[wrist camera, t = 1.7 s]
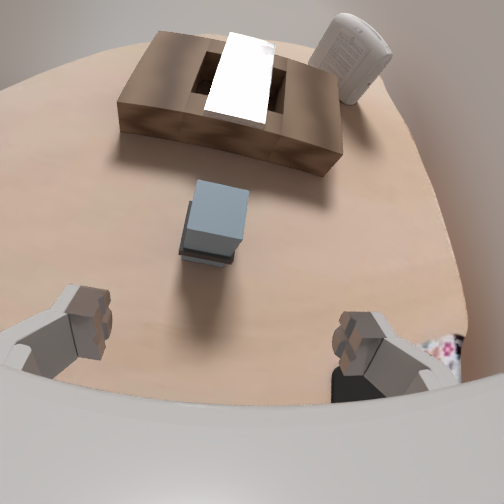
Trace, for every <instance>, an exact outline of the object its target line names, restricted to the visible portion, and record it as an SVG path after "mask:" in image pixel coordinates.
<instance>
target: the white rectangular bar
mask: <svg viewBox="0 0 504 504" xmlns="http://www.w3.org/2000/svg"><path fill="white" fill-rule="evenodd" d="M275 45H276V44H275V43H271V42H268V41H264V40H261V39H257V38H253V37H248V36H245V35H241V34H237V33H232V32H230V35H229V37H228V40H227V42H226V45H225V48H224V51H223V54H222V57H221V60H220V63H219V65H218V68H217V71H216V74H215V78H214V81H213V84H212V87H211V90H210V93H209V96H208V100H207V103H206V106H205V109H204V114H203V116H206V117H211V118H215V119H220V120H224V121H228V122H233V123H237V124H241V125H245V126H249V127H253V128H257V129H261V130H263V128H264V126H265V123H266V115H267V107H268V99H269V92H270V84H271V76H272V68H273V61H274V53H275Z"/></svg>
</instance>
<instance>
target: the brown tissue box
mask: <svg viewBox="0 0 504 504" xmlns="http://www.w3.org/2000/svg"><path fill="white" fill-rule="evenodd" d="M225 45H226V42H224V41H219V40H214V39H209V38H204V37H198V36H192V35H186V34H180V33H173V32H165V31H158V33H157V34H156V36H155V38H154V39H153V41H152V42H151V44H150V45H149V47H148V48H147V50H146V51H145V53H144V55H143V56H142V58H141V60H140V61H139V63H138V65H137V66H136V68H135V70H134V71H133V73H132V75H131V77H130V78H129V80H128V82H127V84H126V85H125V87H124V89H123V91H122V93H121V95H120V97H119V98H118V100H117V108H118V117H119V125H120V132H127V133H133V134H140V135H146V136H152V137H157V138H163V139H168V140H174V141H179V142H184V143H189V144H194V145H199V146H204V147H209V148H213V149H218V150H222V151H227V152H231V153H235V154H240V155H244V156H248V157H252V158H256V159H260V160H264V161H268V162H272V163H275V164H279V165H283V166H287V167H290V168H294V169H298V170H301V171H305V172H308V173H312V174H315V175H318V176H322V177H323V176H324V175H325V174H326V173H327V172H328V171H329V170H330V169H331V168H332V166H333V165H334V164H335V163H336V162H337V161H338V160H339V159H340V158H341V157H342V155H343V142H342V127H341V114H340V103H339V92H338V83H337V76H336V75H334V74H331V73H328V72H326V71H323V70H320V69H318V68H315V67H312V66H309V65H306V64H303V63H300V62H297V61H294V60H291V59H288V58H285V57H282V56H278V55H275V54H274V61H273V68H272V76H271V84H270V92H269V96H272V97H274V102H273V111H269V110H267V115H266V123H265V126H264V128H263V130H261V129H257V128H253V127H249V126H245V125H241V124H237V123H233V122H228V121H224V120H220V119H215V118H211V117H206V116H203V114H204V109H205V106H206V103H207V100H208V96H207V95H202V94H197V93H196V91H197V88H198V85H199V82H200V80H206V81H211V82H213V81H214V78H215V74H216V71H217V68H218V65H219V63H220V60H221V57H222V54H223V51H224V48H225Z"/></svg>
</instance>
